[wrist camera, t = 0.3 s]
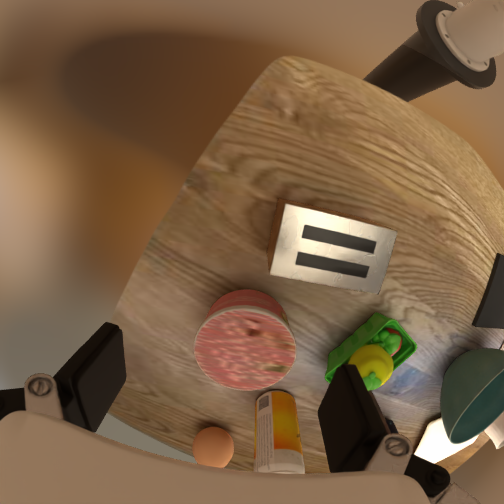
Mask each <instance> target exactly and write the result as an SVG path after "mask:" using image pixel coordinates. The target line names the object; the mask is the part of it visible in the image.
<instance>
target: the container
mask: <svg viewBox="0 0 504 504" xmlns="http://www.w3.org/2000/svg"><path fill="white" fill-rule="evenodd" d="M194 355H195V359H196V361H197V363H198V365H199V367H200V368H201V370H202V371H203V372H204V373H205V374H206V375H207V376H208V377H209V378H210V379H212V380H213V381H215V382H216V383H218V384H220V385H222V386H225V387H228V388H231V389H235V390H257V389H263V388H266V387H268V386H271V385H273V384H275V383H277V382H278V381H280V380H281V379H282V378H283V377H285V376H286V375H287V373H288V372H289V371H290V370H291V368H292V366H293V364H294V362H295V358H296V342H295V338H294V335H293V333H292V331H291V329H290V327H289V323H288V320H287V317H286V314H285V312H284V310H283V308H282V307H281V305H280V304H279V303H278V302H277V301H276V300H275V299H273V298H272V297H271V296H269V295H267V294H265V293H263V292H259V291H256V290H249V289H245V290H237V291H233V292H230V293H228V294H225V295H223V296H222V297H221V298H219V299H218V300H217V301H216V302H215V303H214V304H213V305H212V307H211V309H210V310H209V312H208V314H207V316H206V318H205V320H204V322H203V323H202V324H201V326H200V327H199V329H198V331H197V333H196V336H195V340H194Z"/></svg>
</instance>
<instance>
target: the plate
mask: <svg viewBox="0 0 504 504" xmlns="http://www.w3.org/2000/svg"><path fill="white" fill-rule="evenodd" d="M477 437H478V435H477V436H476V437H474V438H472V439H470V440H468V441H466V442H464V443H461V444H452V443H451V442H450V441H449V439H448V437H447V434H446V432H445V429H444V425H443V421H442V417H441V418H439V419H436V420H434V421H432V422H430V423H429V424H428V426H427V428H426V431H425V433H424V435H423V437H422V439H421V441H420V443H419V446H418V448H417V450H416V452H415V453H414V454H415V455H417V456H419V457H421V458H423V459H425V460H427V461H430V462H432V463H436V462H438V461H440V460H442V459H444V458H446V457H448V456H450V455H452V454H454V453H456V452H458V451H459V450H461V449H463V448H465V447H467V446H468V445H470V444H472V443H473V442H474V441H475V440H476V438H477Z"/></svg>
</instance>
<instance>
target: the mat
mask: <svg viewBox="0 0 504 504" xmlns="http://www.w3.org/2000/svg"><path fill="white" fill-rule="evenodd" d="M472 325H473V326H475V327H484V328H500V329H504V256H503V255H501V254H499V253H497V256H496V260H495V263H494V266H493V270H492V273H491V276H490V279H489V282H488V285H487V288H486V291H485V293H484V296H483V299H482V301H481V304H480V307H479V309H478V311H477V314H476V316H475V319H474V321H473V323H472Z"/></svg>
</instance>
